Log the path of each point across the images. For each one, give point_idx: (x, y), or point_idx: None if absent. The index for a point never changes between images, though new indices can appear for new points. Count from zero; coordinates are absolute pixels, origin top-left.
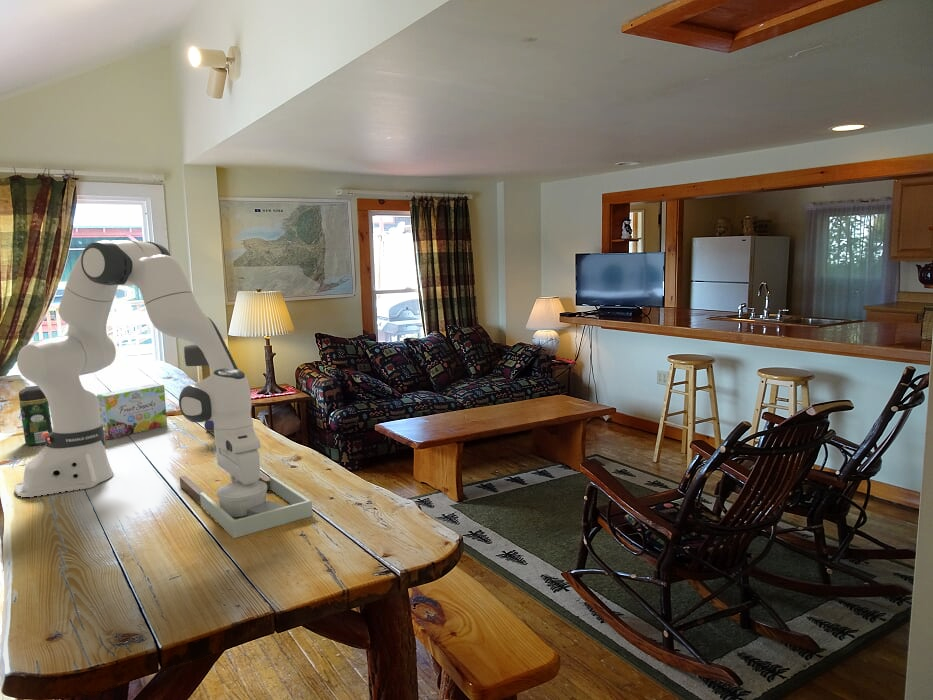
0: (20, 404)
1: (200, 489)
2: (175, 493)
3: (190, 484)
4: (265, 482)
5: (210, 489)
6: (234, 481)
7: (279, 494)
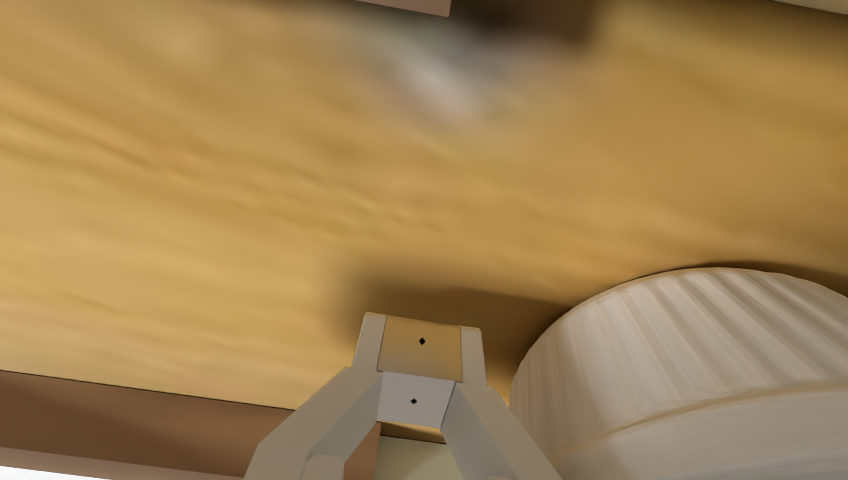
0: None
1: (212, 476)
2: None
3: (54, 466)
4: (429, 12)
5: (54, 314)
6: (349, 442)
7: (818, 5)
